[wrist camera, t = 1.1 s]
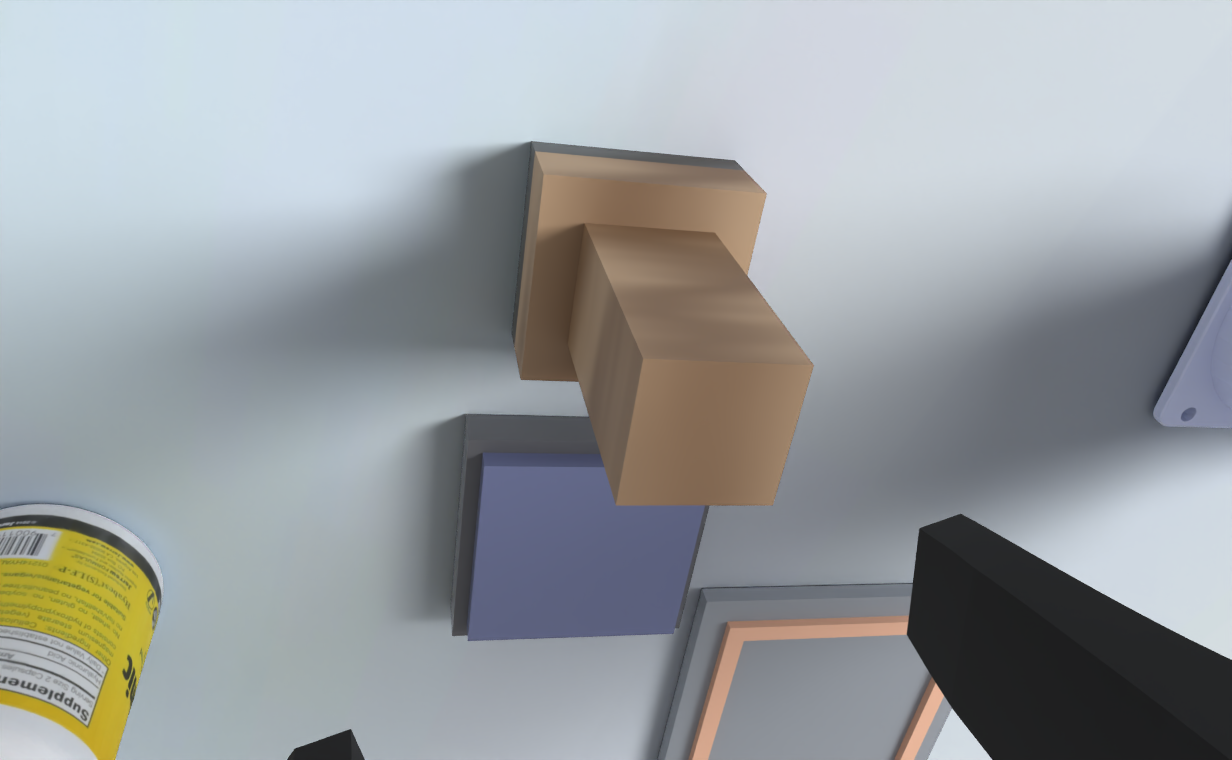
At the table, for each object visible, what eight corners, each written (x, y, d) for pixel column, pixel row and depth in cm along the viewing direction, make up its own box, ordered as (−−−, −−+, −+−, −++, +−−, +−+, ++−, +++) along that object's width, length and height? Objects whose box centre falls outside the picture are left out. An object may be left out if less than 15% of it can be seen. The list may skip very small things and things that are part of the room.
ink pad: (712, 419, 26) (731, 456, 25) (669, 600, 30) (683, 642, 28) (466, 414, 24) (469, 453, 23) (450, 606, 28) (453, 651, 26)
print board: (997, 581, 32) (1012, 599, 31) (903, 781, 37) (913, 801, 37) (702, 588, 30) (709, 608, 29) (646, 802, 35) (651, 824, 34)
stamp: (734, 160, 22) (884, 315, 15) (695, 340, 25) (809, 546, 18) (531, 140, 21) (591, 300, 14) (511, 332, 23) (554, 549, 16)
